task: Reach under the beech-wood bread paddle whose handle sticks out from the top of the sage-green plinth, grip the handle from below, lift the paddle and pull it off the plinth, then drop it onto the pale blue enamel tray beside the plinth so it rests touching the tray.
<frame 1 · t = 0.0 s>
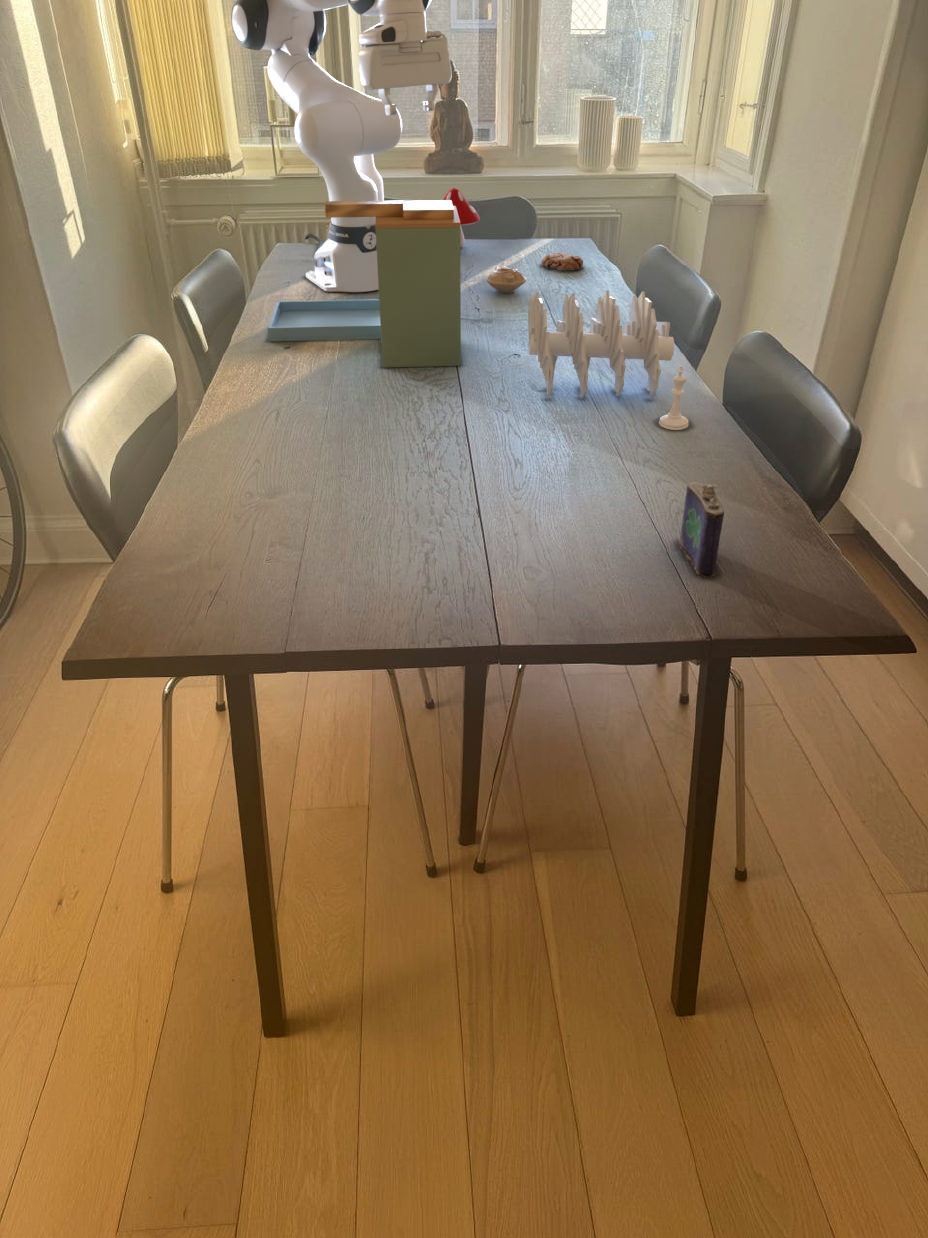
hand: (410, 112, 191), 39 cm above the table, tool pointing down, fingers open, 8 cm apart
paddle: (403, 214, 173), point 26 cm above the table, touching plinth
chess piece: (673, 425, 159), on the table
pottery oil lamp: (505, 289, 225), on the table
flask: (697, 559, 124), on the table
plinth: (420, 354, 188), on the table
decorative mushroom: (453, 248, 258), on the table
spiral staircase: (596, 393, 171), on the table
cookie: (561, 267, 241), on the table
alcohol: (370, 255, 251), on the table
tray: (348, 325, 202), on the table
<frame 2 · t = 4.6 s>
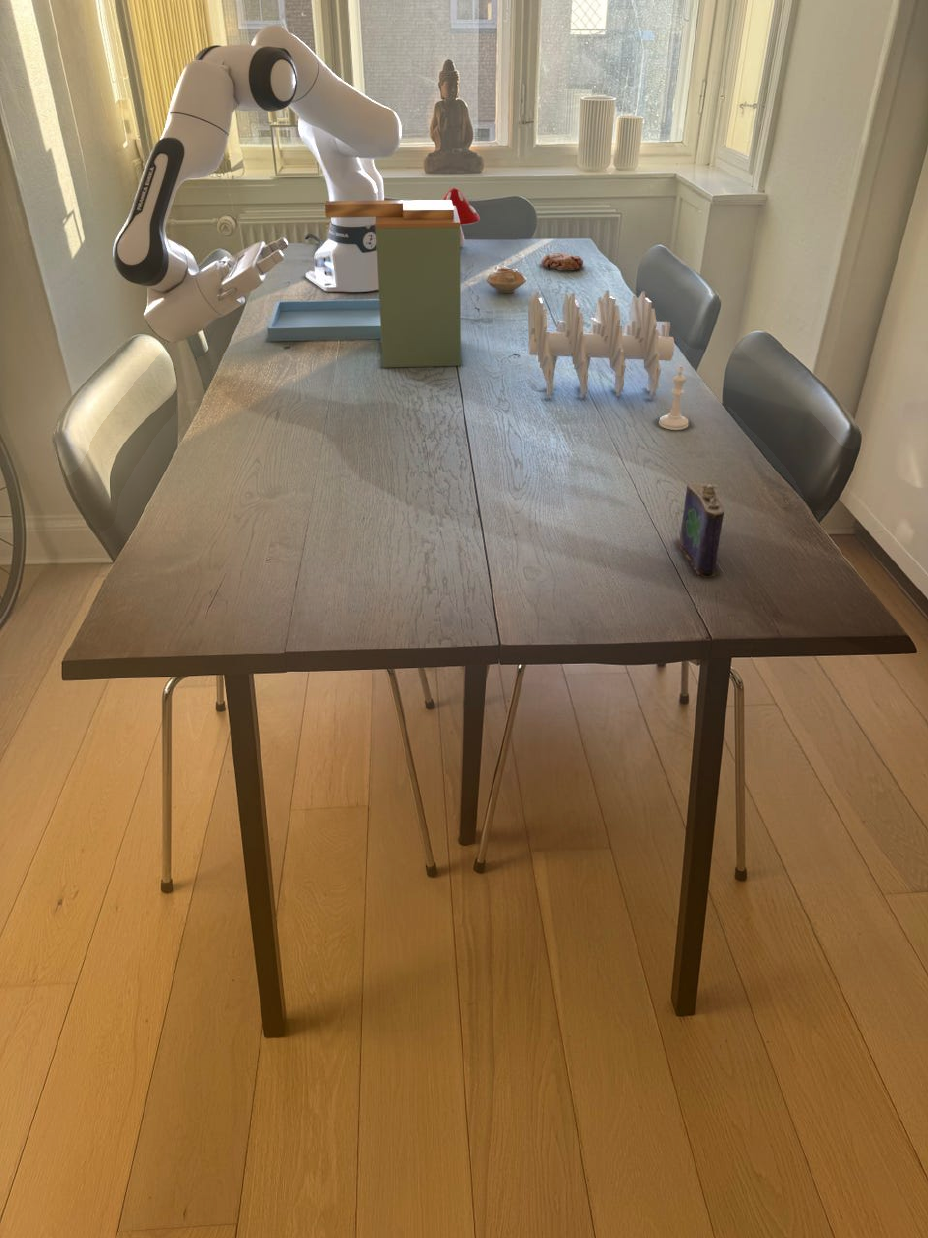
hand: (284, 247, 175), 21 cm above the table, tool pointing upward, fingers open, 8 cm apart
nothing on the table moved.
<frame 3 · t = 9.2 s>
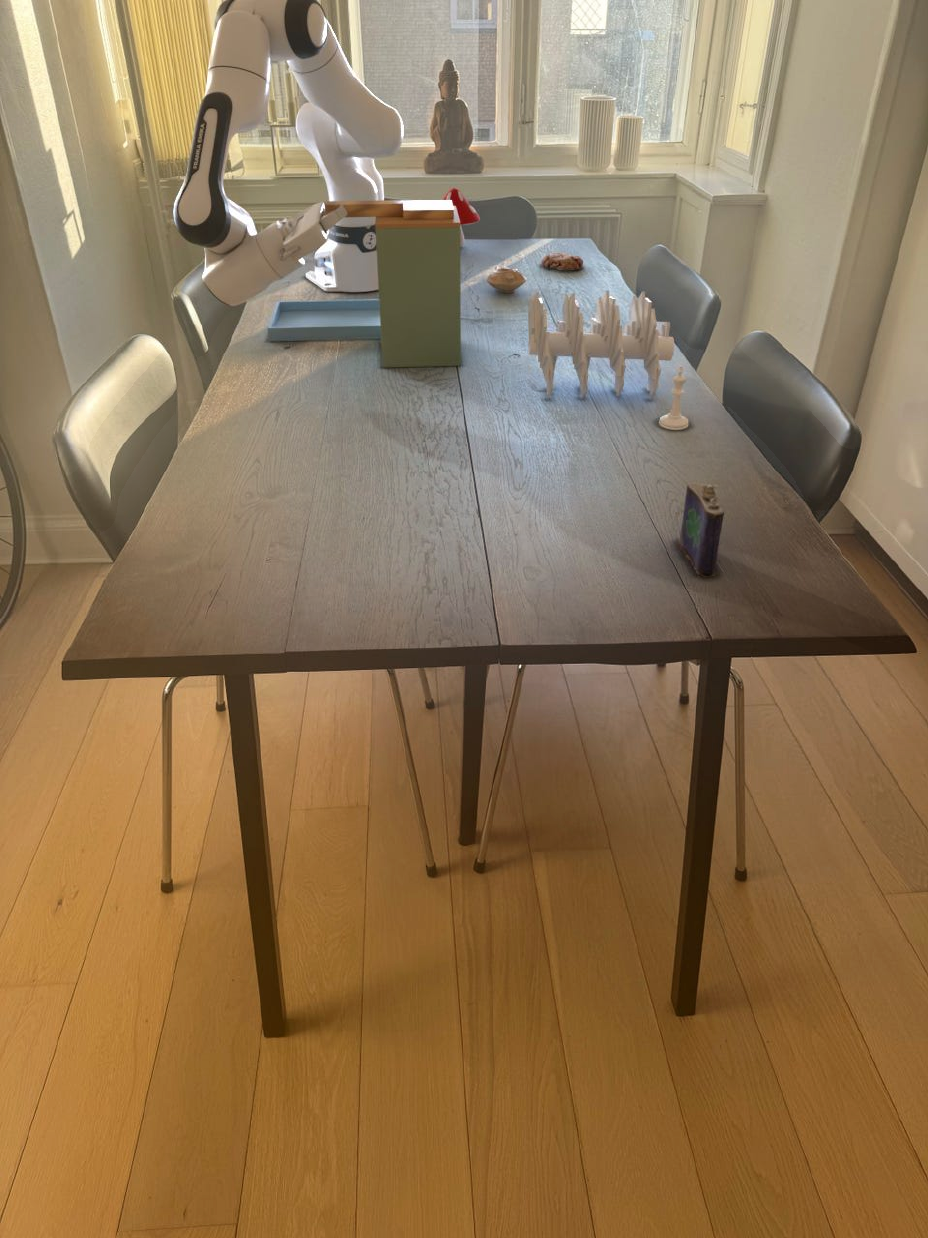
hand: (346, 206, 171), 28 cm above the table, tool pointing upward, fingers closed on paddle, 3 cm apart
paddle: (403, 214, 173), point 26 cm above the table, touching gripper, plinth
everything else where it was.
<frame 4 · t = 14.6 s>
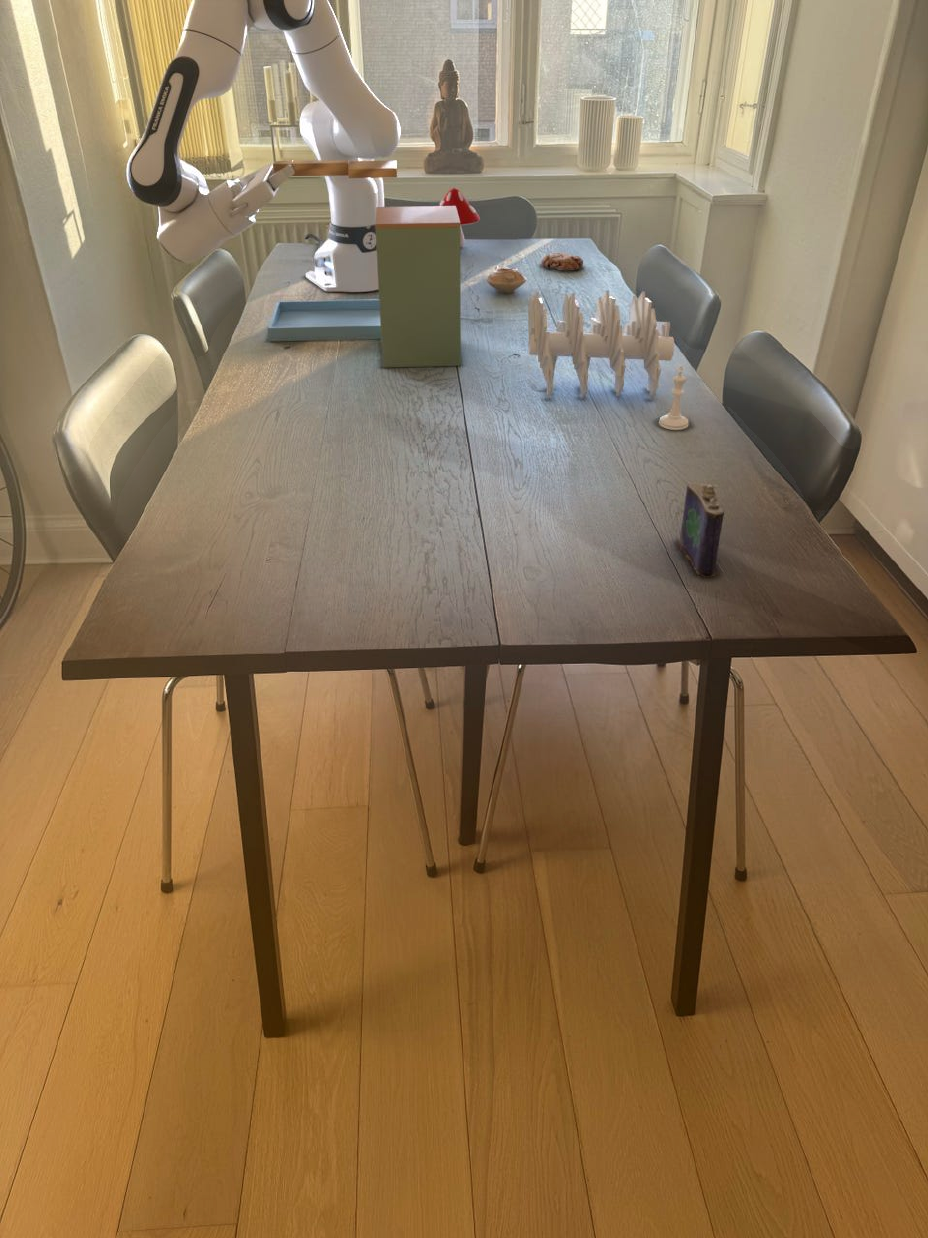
hand: (294, 165, 178), 32 cm above the table, tool pointing upward, fingers closed on paddle, 3 cm apart
paddle: (349, 173, 180), point 31 cm above the table, touching gripper
everything else where it was.
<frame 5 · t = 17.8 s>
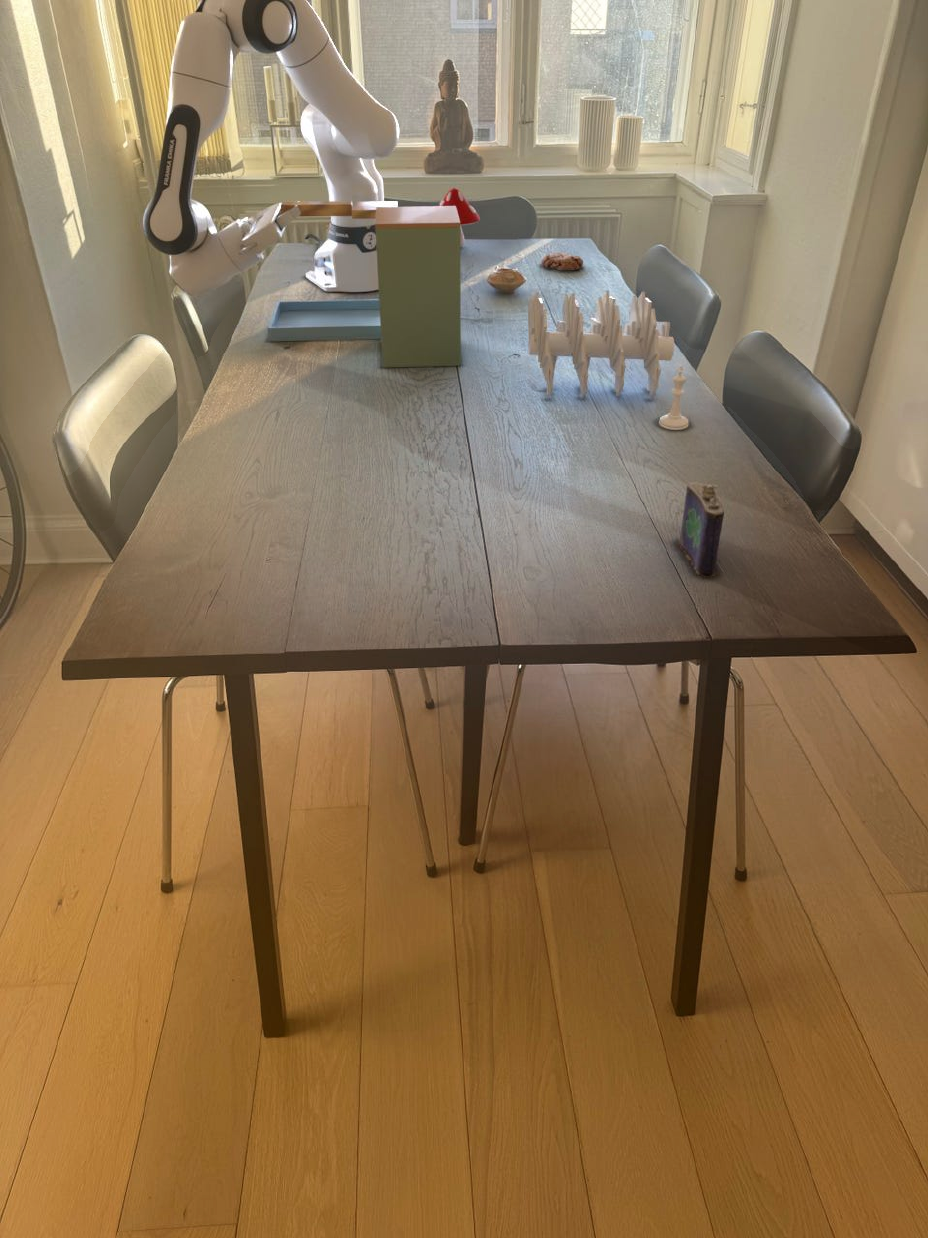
hand: (300, 206, 188), 24 cm above the table, tool pointing upward, fingers closed on paddle, 3 cm apart
paddle: (352, 214, 190), point 22 cm above the table, touching gripper
everything else where it was.
when the fingers open (15 cm above the table, at t = 20.5 s): paddle drops 13 cm, resting on tray.
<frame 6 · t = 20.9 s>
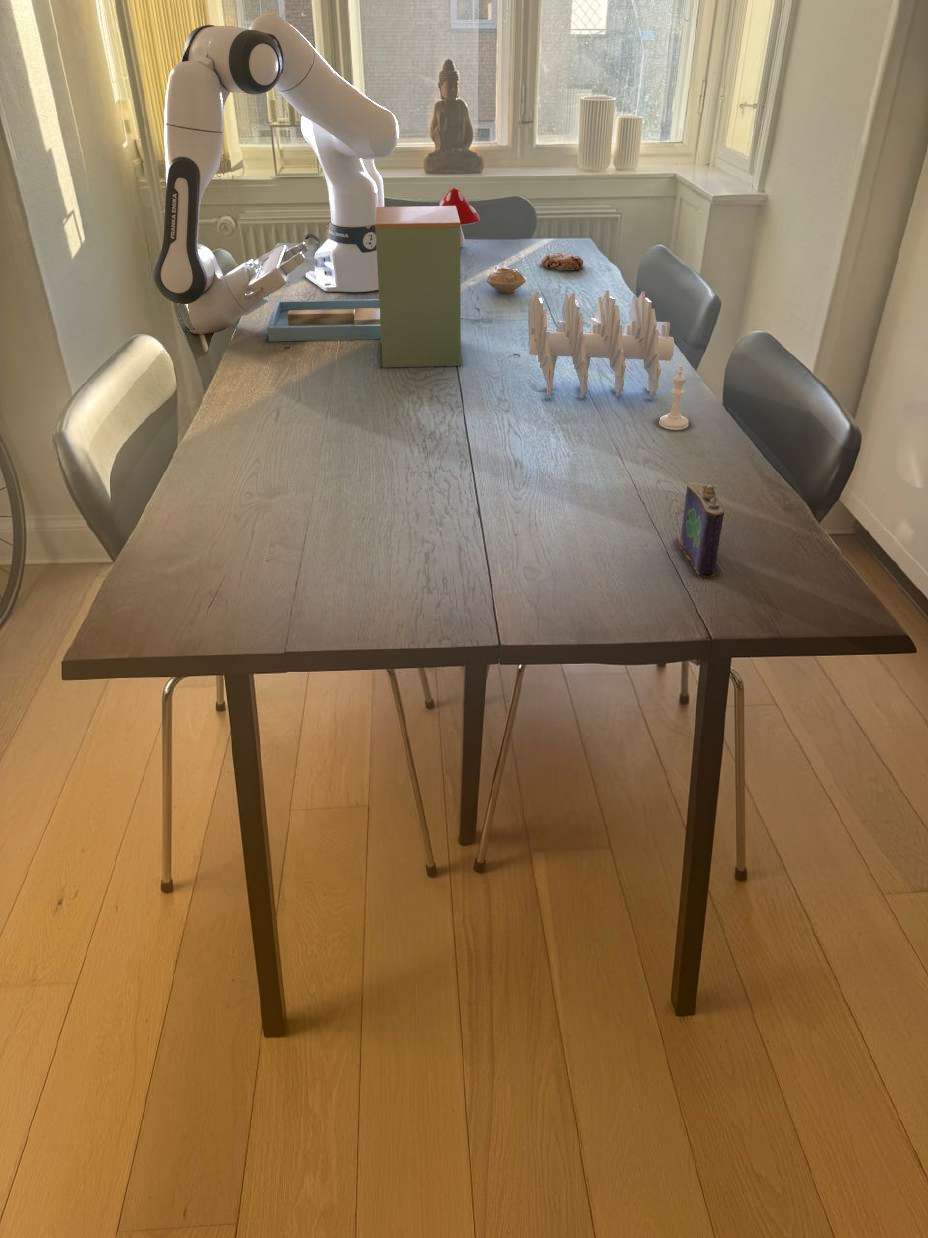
hand: (304, 250, 193), 15 cm above the table, tool pointing upward, fingers open, 7 cm apart
paddle: (355, 321, 202), point 1 cm above the table, touching tray
everything else where it was.
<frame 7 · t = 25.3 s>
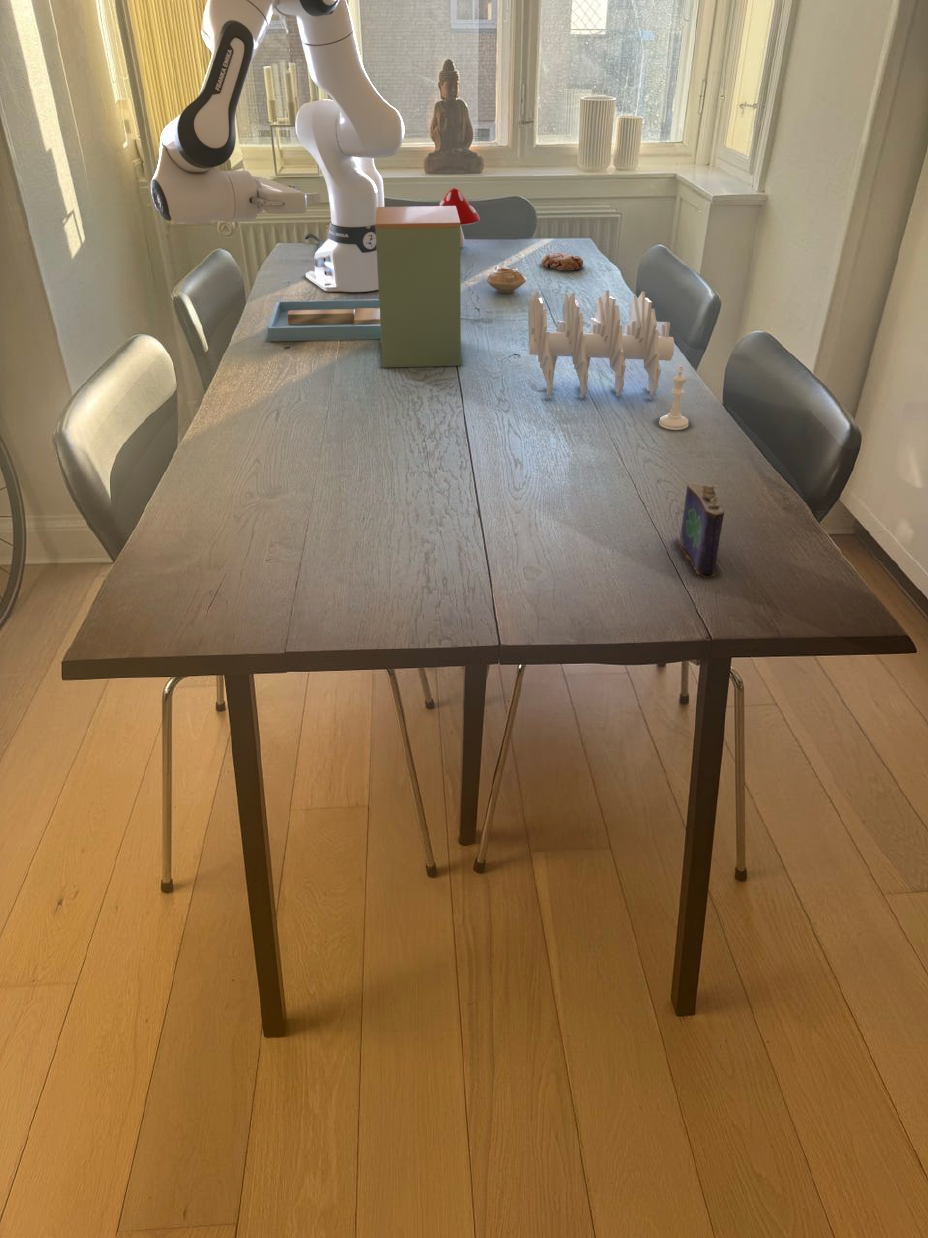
hand: (308, 193, 186), 26 cm above the table, tool horizontal, fingers open, 8 cm apart
nothing on the table moved.
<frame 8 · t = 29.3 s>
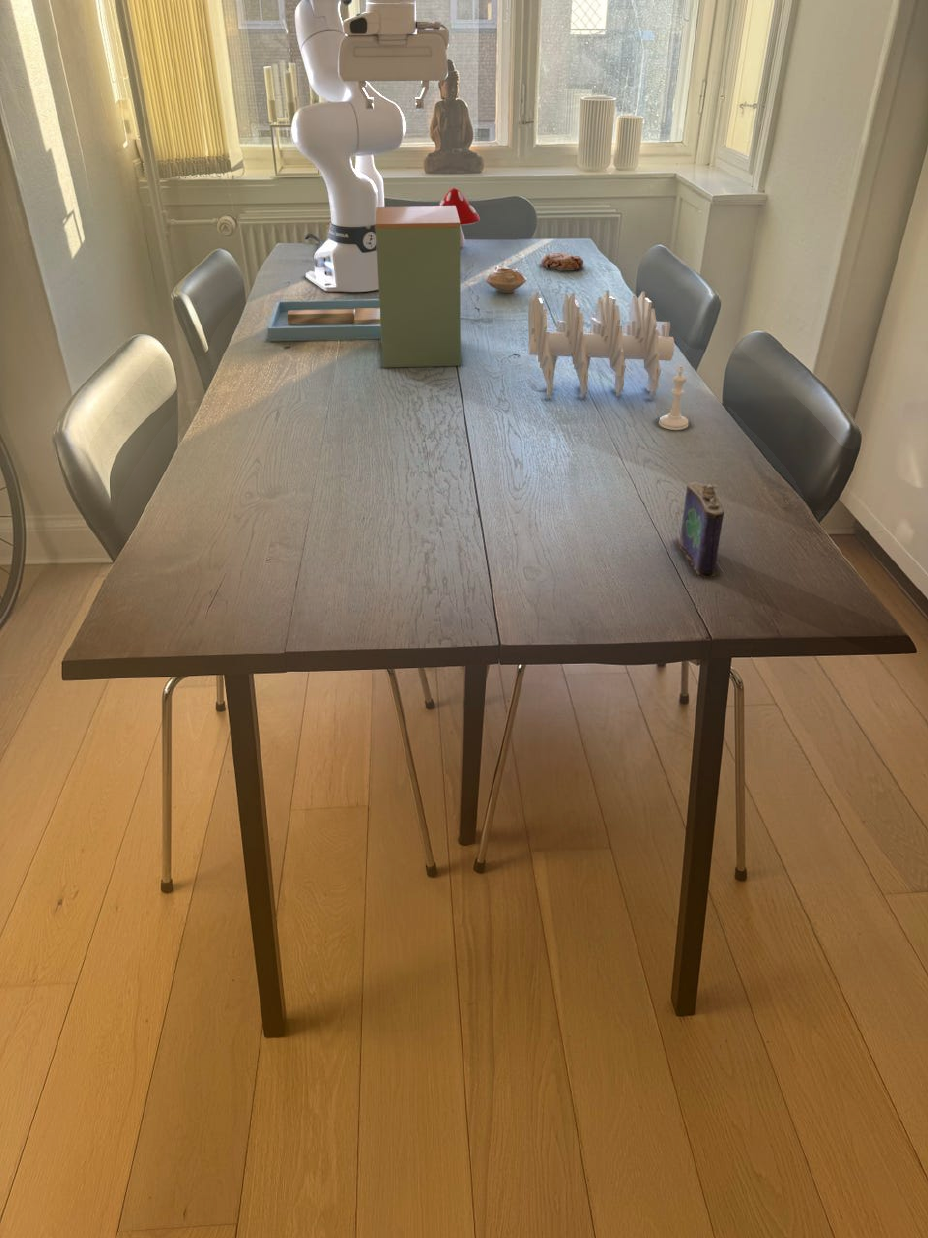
hand: (394, 108, 179), 41 cm above the table, tool pointing down, fingers open, 8 cm apart
nothing on the table moved.
at the end: paddle inside the target area in the tray (1.0 cm from its centre), point 0.8 cm above the tray's base; paddle touching tray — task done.
